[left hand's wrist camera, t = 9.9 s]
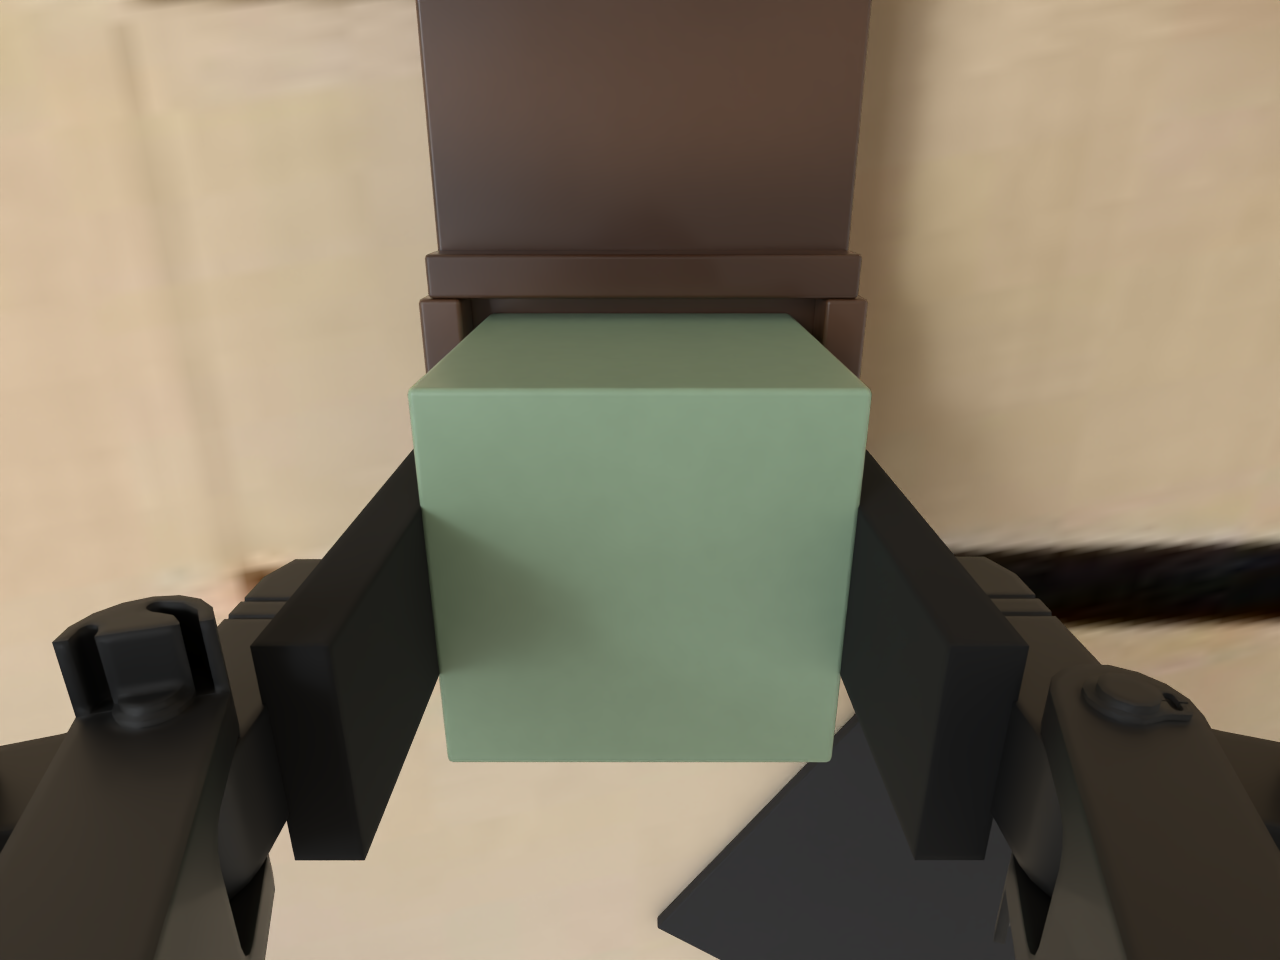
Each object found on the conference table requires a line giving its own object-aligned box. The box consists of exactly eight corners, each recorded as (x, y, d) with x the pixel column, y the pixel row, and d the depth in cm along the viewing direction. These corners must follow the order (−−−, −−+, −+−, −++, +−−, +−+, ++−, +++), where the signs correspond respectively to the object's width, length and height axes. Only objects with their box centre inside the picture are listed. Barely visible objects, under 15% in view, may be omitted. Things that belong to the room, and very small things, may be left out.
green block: (772, 579, 18) (832, 764, 12) (507, 579, 18) (446, 764, 12) (790, 312, 16) (874, 389, 10) (489, 312, 16) (405, 389, 10)
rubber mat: (968, 1077, 29) (972, 1089, 28) (656, 917, 26) (656, 928, 25) (1281, 837, 24) (1290, 847, 24) (951, 614, 22) (956, 621, 21)
